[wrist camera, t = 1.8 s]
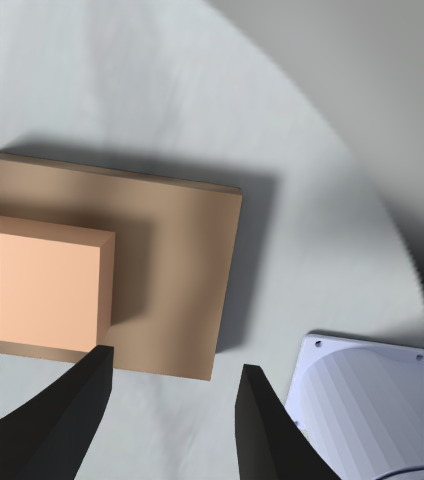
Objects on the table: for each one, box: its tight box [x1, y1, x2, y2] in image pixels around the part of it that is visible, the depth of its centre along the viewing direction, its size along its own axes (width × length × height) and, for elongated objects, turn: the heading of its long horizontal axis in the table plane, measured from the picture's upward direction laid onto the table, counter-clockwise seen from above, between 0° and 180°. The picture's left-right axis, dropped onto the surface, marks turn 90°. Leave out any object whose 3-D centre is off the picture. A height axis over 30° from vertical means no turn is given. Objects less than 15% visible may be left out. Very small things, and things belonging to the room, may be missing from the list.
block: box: [0, 216, 116, 352], centre depth 18 cm, size 8×6×2 cm
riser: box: [0, 152, 243, 381], centre depth 20 cm, size 14×12×2 cm
